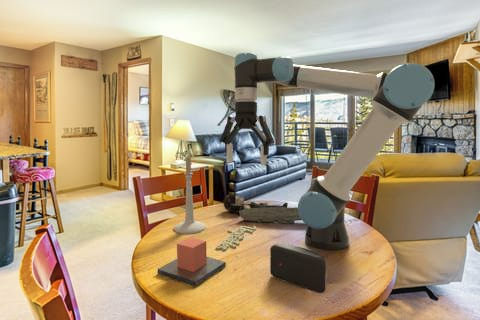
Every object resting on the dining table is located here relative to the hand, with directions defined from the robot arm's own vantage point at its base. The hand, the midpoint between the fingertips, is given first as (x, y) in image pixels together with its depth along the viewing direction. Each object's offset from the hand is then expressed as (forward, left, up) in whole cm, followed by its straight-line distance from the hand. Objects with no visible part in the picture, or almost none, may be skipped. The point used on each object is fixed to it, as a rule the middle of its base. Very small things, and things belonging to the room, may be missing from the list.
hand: (246, 163), depth 111 cm
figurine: (+16, -34, -29) cm, 48 cm away
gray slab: (+3, +26, -29) cm, 39 cm away
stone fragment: (+2, -27, -29) cm, 40 cm away
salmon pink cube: (+3, +26, -27) cm, 38 cm away
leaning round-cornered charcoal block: (-26, +18, -29) cm, 43 cm away
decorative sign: (+7, -3, -29) cm, 30 cm away
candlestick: (+28, -2, -29) cm, 40 cm away
